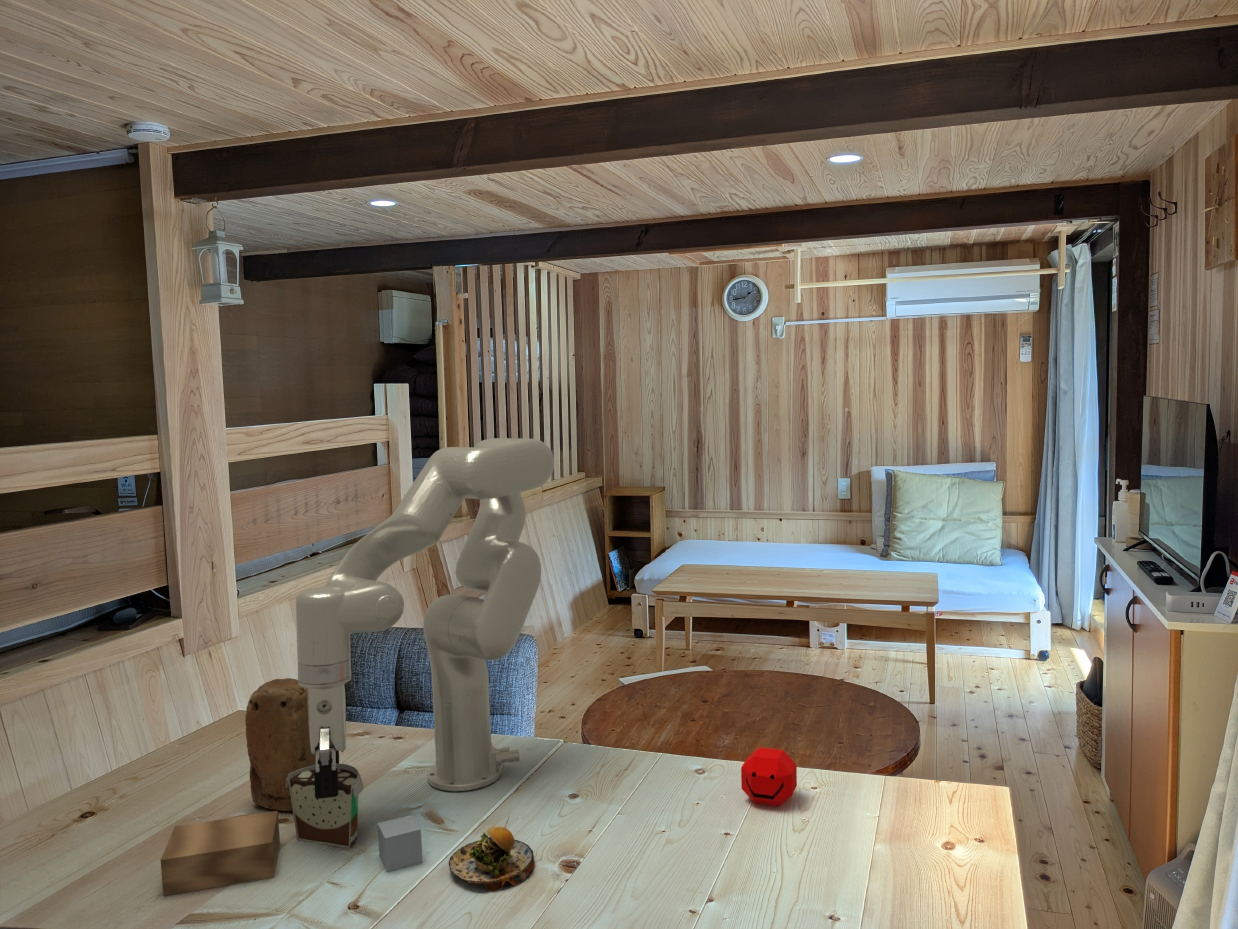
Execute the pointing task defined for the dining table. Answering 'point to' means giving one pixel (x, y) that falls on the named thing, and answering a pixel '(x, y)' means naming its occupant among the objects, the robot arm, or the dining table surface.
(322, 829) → the food container
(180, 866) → the plinth
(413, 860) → the slate cube
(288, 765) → the brown lumpy post
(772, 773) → the ball
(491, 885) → the burger
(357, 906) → the dining table surface
